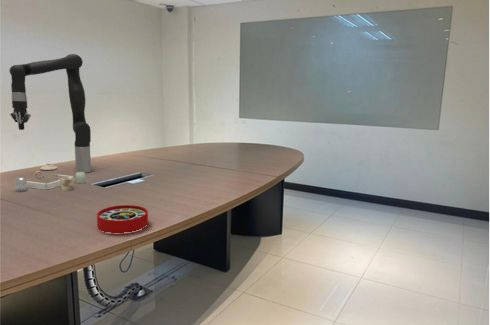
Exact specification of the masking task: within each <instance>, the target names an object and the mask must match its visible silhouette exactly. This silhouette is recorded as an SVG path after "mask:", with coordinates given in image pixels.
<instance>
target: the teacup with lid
mask: <svg viewBox="0 0 490 325" xmlns="http://www.w3.org/2000/svg"><path fill="white" fill-rule="evenodd" d="M58 169H59V168H58V166H56V165H53V164H51V163H50V162H48V163H46V164H45V165H44V166H41V167H40V168H39V170H37V171H35V172H34V175H33V176H34V178H35V179H36V180H39V181H40V183H46V184H47V183H51V182H54V181H58ZM38 173H40V177H38V176H37V174H38Z"/></svg>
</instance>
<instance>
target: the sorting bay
mask: <svg viewBox="0 0 490 325" xmlns="http://www.w3.org/2000/svg"><path fill="white" fill-rule="evenodd" d="M61 178H72V179H73V183H74V182H76V175H75V176H73V175H65V174H58V181H54V182H51V183H47V184H46V183H41V182H37V181H28V180H27V188H31V189H38V190H45V191H48V190H51V189H54V188H55V189H56V188H58V187H61V180H60V179H61Z"/></svg>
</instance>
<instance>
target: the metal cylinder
mask: <svg viewBox="0 0 490 325" xmlns="http://www.w3.org/2000/svg"><path fill="white" fill-rule="evenodd" d="M14 181H15V191H16V192H17V193H23V192H27V191H28V187H27V181H28V180H27V176H17V177H15V178H14Z"/></svg>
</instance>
